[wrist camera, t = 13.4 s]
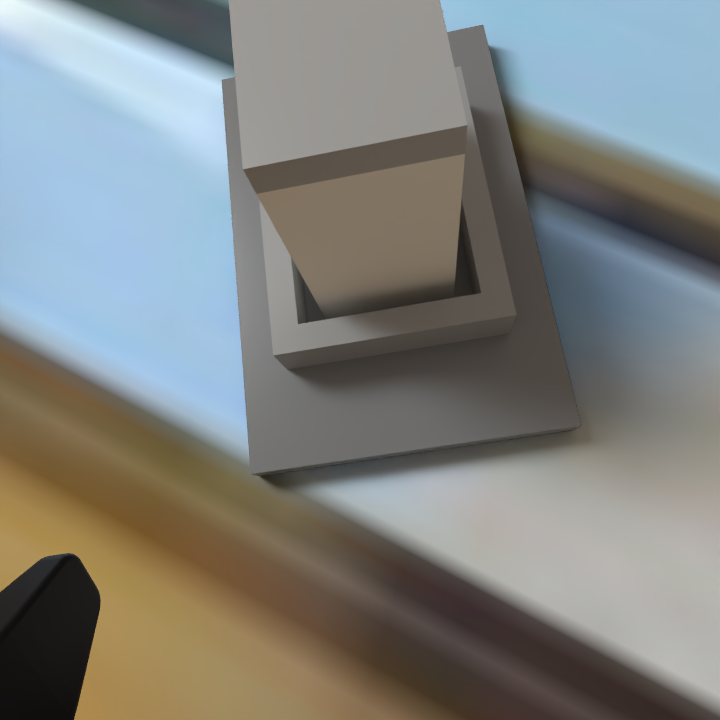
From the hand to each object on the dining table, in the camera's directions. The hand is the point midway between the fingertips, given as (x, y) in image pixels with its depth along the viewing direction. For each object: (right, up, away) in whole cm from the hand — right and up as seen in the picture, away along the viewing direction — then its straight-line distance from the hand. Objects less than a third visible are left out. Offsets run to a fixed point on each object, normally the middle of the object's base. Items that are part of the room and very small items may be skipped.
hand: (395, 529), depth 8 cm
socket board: (0, +7, +16) cm, 18 cm away
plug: (0, +8, +15) cm, 17 cm away
